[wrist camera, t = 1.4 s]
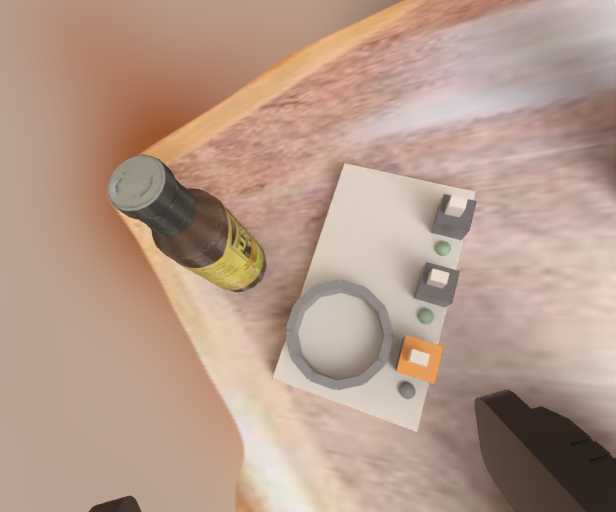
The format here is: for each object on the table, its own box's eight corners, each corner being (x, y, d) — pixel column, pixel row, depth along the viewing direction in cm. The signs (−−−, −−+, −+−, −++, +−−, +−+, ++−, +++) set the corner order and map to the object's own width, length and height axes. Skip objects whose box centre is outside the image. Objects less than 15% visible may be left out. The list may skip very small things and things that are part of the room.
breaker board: (345, 171, 43) (341, 135, 36) (470, 199, 40) (492, 165, 33) (277, 377, 38) (257, 381, 31) (414, 428, 35) (426, 445, 28)
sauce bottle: (278, 271, 41) (203, 194, 22) (232, 304, 40) (115, 255, 22) (249, 228, 43) (157, 122, 24) (204, 259, 42) (75, 177, 24)
